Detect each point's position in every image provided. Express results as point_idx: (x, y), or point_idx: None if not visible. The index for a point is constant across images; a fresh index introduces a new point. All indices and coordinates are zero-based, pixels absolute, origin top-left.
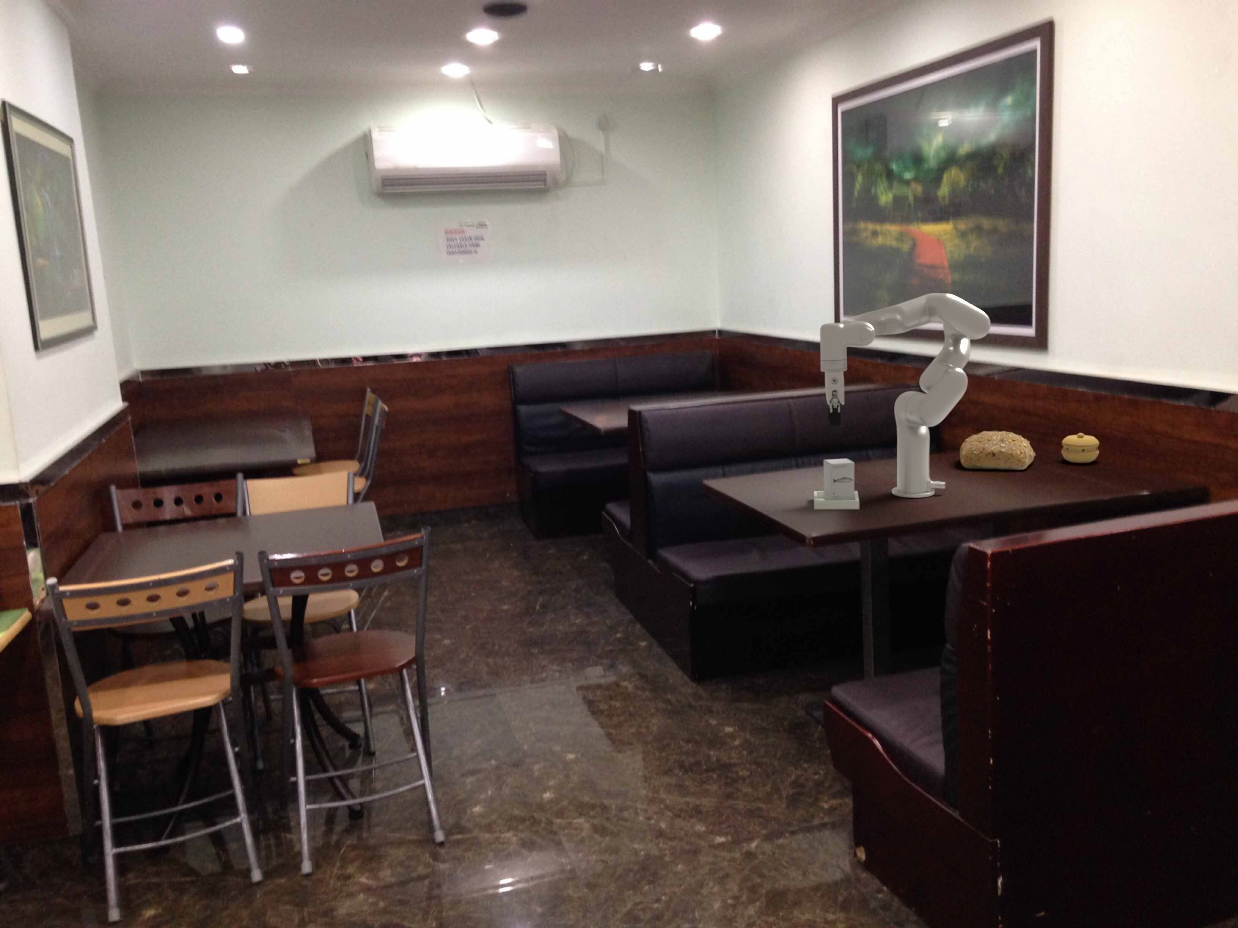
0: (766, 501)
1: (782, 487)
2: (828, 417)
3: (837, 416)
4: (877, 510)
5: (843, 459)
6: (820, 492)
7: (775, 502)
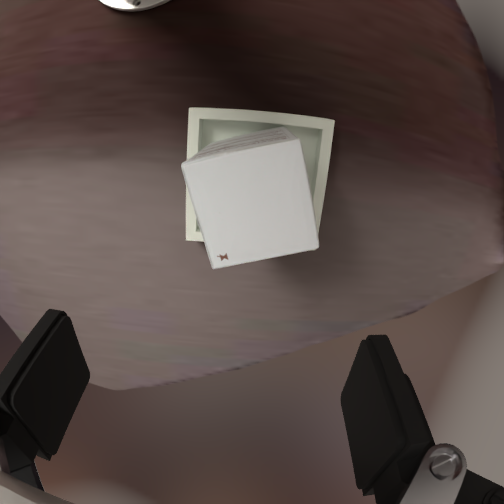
0: (212, 335)
1: (73, 291)
2: (78, 393)
3: (424, 422)
4: (350, 72)
5: (218, 183)
6: (196, 222)
7: (223, 319)
